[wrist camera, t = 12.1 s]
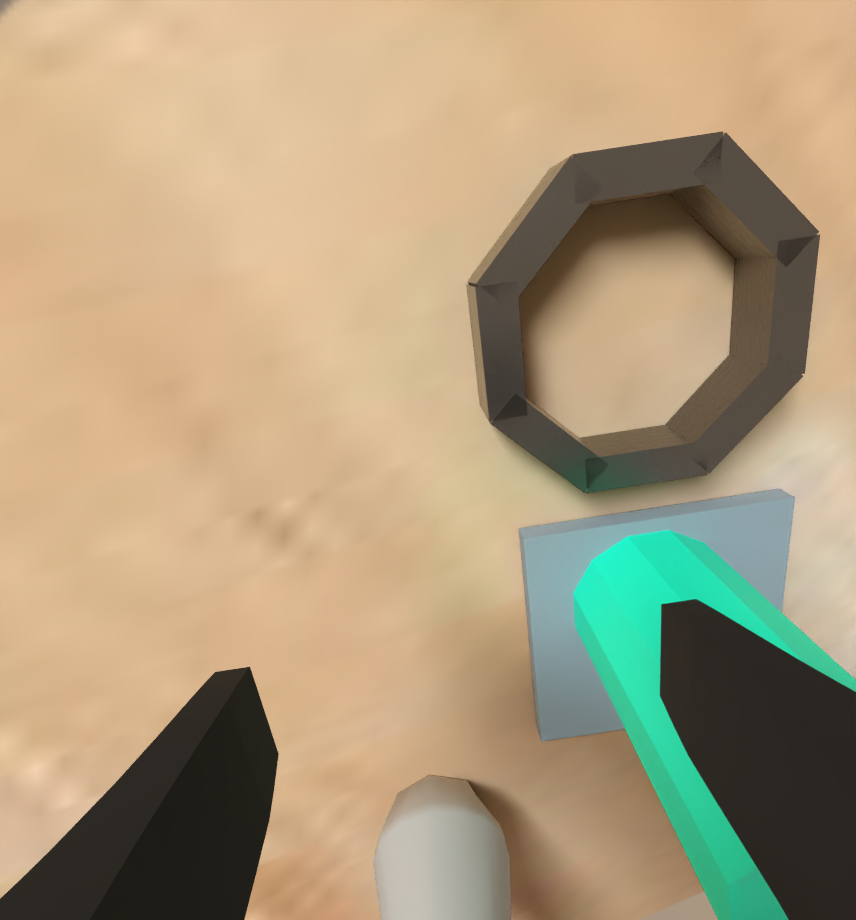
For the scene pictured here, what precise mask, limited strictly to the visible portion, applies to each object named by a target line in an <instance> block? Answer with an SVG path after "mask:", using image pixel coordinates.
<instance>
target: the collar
mask: <svg viewBox="0 0 856 920" xmlns="http://www.w3.org/2000/svg"><path fill="white" fill-rule="evenodd" d="M662 194H670V195H671V196H672V197H673V198H674V199H675V200H676V201H677V202H678V203H679V204H680V205H681V206H682V207H683V208H684V209H685V210H686V211H687V212H688V213H690V214H691V215H692V216H693V217H694V218H695V219H696V220H697V221H698V222H699V223H700V224H701V225H702V226H703V227H704V228H705V229H706V230H707V231H708V232H709V233H710V234H711V235H712V236H713V237H714V238H715V239H716V240H717V241H718V242H719V243H720V244H721V245H722V246H723V247H724V248H725V249H726V250H727V251H728V252H729V253H730V254H731V255H732V256H733V257H734V258H735V271H734V288H733V305H732V322H731V339H730V355H729V356H728V357H727V358H726V359H725V360H724V361H723V362H722V363H721V364H720V366H719V367H718V368H717V369H716V370H715V371H714V372H713V373H712V374H711V375H710V376H709V378H708V379H707V380H706V381H705V382H704V383H703V384H702V385H701V386H700V387H699V389H698V390H697V391H696V392H695V393H694V394H693V395H692V396H691V397H690V398H689V399H688V401H687V402H686V403H685V404H684V405H683V406H682V407H681V408H680V409H679V410H678V411H677V413H676V414H675V415H674V416H673V417H672V418H671V419H670V420H669V421H668V422H667V424H666V425H662V426H655V427H648V428H642V429H635V430H629V431H622V432H616V433H609V434H602V435H596V436H589V437H583V438H578V437H577V436H576V435H575V434H573V433H572V432H571V431H569V430H568V429H567V428H565V427H564V426H563V425H562V424H560V423H559V422H558V421H556V420H555V419H554V418H552V417H551V416H550V415H549V414H547V413H546V412H545V411H543V410H542V409H541V408H539V407H538V406H537V405H535V404H534V403H533V402H532V401H530V400H529V399H528V398H526V390H525V377H524V364H523V351H522V339H521V326H520V313H519V300H518V297H519V295H520V294H521V293H522V292H523V290H524V289H525V288H526V286H527V285H528V284H529V282H530V281H531V280H532V278H533V277H534V276H535V275H536V273H537V272H538V271H539V269H540V268H541V267H542V265H543V264H544V263H545V262H546V260H547V259H548V258H549V256H550V255H551V254H552V252H553V251H554V250H555V248H556V247H557V246H558V245H559V243H560V242H561V241H562V239H563V238H564V237H565V235H566V234H567V233H568V232H569V230H570V229H571V228H572V226H573V225H574V224H575V222H576V221H577V220H578V218H579V217H580V216H581V215H582V213H583V212H584V211H585V209H586V208H587V207H588V206H590V205H597V204H603V203H610V202H616V201H623V200H630V199H636V198H643V197H649V196H656V195H662ZM818 232H819V231H818V230H817V229H816V228H815V227H814V226H813V225H812V224H811V223H810V221H809V220H808V219H807V218H806V217H805V216H804V215H803V214H802V213H801V212H800V211H799V210H798V209H797V208H796V207H795V205H794V204H793V203H792V202H791V201H790V200H789V199H788V198H787V197H786V196H785V195H784V194H783V193H782V192H781V191H780V190H779V188H778V187H777V186H776V185H775V184H774V183H773V182H772V181H771V180H770V179H769V178H768V177H767V176H766V175H765V174H764V172H763V171H762V170H761V169H760V168H759V167H758V166H757V165H756V164H755V163H754V162H753V161H752V160H751V159H750V158H749V157H748V155H747V154H746V153H745V152H744V151H743V150H742V149H741V148H740V147H739V146H738V145H737V144H736V143H735V142H734V141H733V139H732V138H731V137H730V136H729V135H728V134H727V133H724V134H723V132H717V133H710V134H704V135H697V136H690V137H684V138H677V139H671V140H664V141H657V142H651V143H644V144H638V145H631V146H625V147H618V148H611V149H605V150H598V151H592V152H585V153H578V154H573V155H571V156H570V157H568V158H567V159H565V160H563V161H562V162H560V163H558V164H557V165H555V166H554V167H552V168H551V169H549V171H548V172H547V173H546V175H545V176H544V178H543V179H542V180H541V182H540V183H539V184H538V186H537V187H536V189H535V190H534V191H533V193H532V194H531V195H530V197H529V198H528V199H527V201H526V202H525V204H524V205H523V206H522V208H521V209H520V210H519V212H518V213H517V214H516V216H515V217H514V219H513V220H512V221H511V223H510V224H509V225H508V227H507V228H506V230H505V231H504V232H503V234H502V235H501V236H500V238H499V239H498V240H497V242H496V243H495V245H494V246H493V247H492V249H491V250H490V251H489V253H488V254H487V255H486V257H485V258H484V260H483V261H482V262H481V264H480V265H479V266H478V268H477V269H476V270H475V272H474V273H473V275H472V276H471V277H470V279H469V280H468V281H467V282H469V283H470V284H467V293H468V302H469V311H470V320H471V329H472V338H473V347H474V356H475V365H476V374H477V383H478V392H479V401H480V406H481V408H482V410H483V411H484V413H485V415H486V417H487V418H488V420H489V422H490V423H491V424H492V425H493V426H494V427H496V428H497V429H498V430H500V431H501V432H503V433H504V434H505V435H507V436H508V437H509V438H511V439H512V440H513V441H515V442H516V443H518V444H519V445H520V446H522V447H523V448H524V449H526V450H527V451H528V452H530V453H531V454H533V455H534V456H535V457H537V458H538V459H539V460H541V461H542V462H543V463H545V464H546V465H547V466H549V467H550V468H552V469H553V470H554V471H556V472H557V473H558V474H560V475H561V476H562V477H564V478H565V479H567V480H568V481H569V482H571V483H572V484H573V485H575V486H576V487H577V488H579V489H580V490H581V491H583V492H586V493H590V492H596V491H603V490H610V489H616V488H623V487H629V486H636V485H642V484H649V483H656V482H662V481H669V480H675V479H682V478H688V477H695V476H702V475H707V472H708V473H710V472H711V471H712V470H713V469H714V468H715V467H716V466H717V465H718V464H719V463H720V462H721V461H722V460H723V459H724V458H725V457H726V456H727V454H728V453H729V452H730V451H731V450H732V449H733V448H734V447H735V446H736V445H737V444H738V443H739V442H740V441H741V440H742V439H743V438H744V437H745V436H746V435H747V434H748V433H749V432H750V431H751V430H752V429H753V428H754V427H755V426H756V425H757V424H758V422H759V421H760V420H761V419H762V418H763V417H764V416H765V415H766V414H767V413H768V412H769V411H770V410H771V409H772V408H773V407H774V406H775V405H776V404H777V403H778V402H779V401H780V400H781V399H782V398H783V397H784V396H785V395H786V394H787V393H788V391H789V390H790V389H791V388H792V387H793V386H794V385H795V384H796V383H797V382H798V381H799V380H800V379H801V378H802V377H803V375H801V374H804V373H805V366H806V357H807V348H808V339H809V330H810V321H811V312H812V303H813V294H814V285H815V276H816V266H817V257H818V248H819V239H820V235H817V233H818Z"/></svg>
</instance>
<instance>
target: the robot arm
mask: <svg viewBox="0 0 856 920" xmlns="http://www.w3.org/2000/svg"><path fill="white" fill-rule="evenodd" d="M660 697H661V699H662V702H663V704H664V706H665V708H666V710H667V712H668V715H669V717H670V719H671V721H672V723H673V726H674V728H675V730H676V732H677V734H678V736H679V738H680V740H681V742H682V744H683V746H684V748H685V750H686V752H687V754H688V756H689V758H690V759H691V761H692V763H693V764H694V766H695V768H696V769H697V771H698V773H699V774H700V776H701V778H702V779H703V781H704V783H705V784H706V786H707V787H708V789H709V791H710V792H711V794H712V796H713V797H714V799H715V801H716V802H717V804H718V805H719V807H720V809H721V810H722V812H723V813H724V815H725V817H726V818H727V820H728V822H729V823H730V825H731V826H732V828H733V830H734V831H735V833H736V834H737V836H738V838H739V839H740V841H741V842H742V844H743V846H744V847H745V849H746V851H747V852H748V854H749V855H750V857H751V859H752V860H753V862H754V863H755V865H756V867H757V868H758V870H759V871H760V873H761V875H762V876H763V878H764V880H765V881H766V883H767V884H768V886H769V888H770V889H771V891H772V892H773V894H774V896H775V897H776V899H777V901H778V902H779V904H780V906H781V907H782V909H783V911H784V912H785V914H786V916H787V918H788V919H789V920H856V692H855V691H853V690H852V689H850V688H848V687H846V686H844V685H843V684H841V683H839V682H837V681H835V680H834V679H832V678H830V677H828V676H827V675H825V674H823V673H821V672H820V671H818V670H816V669H814V668H813V667H811V666H809V665H807V664H806V663H804V662H802V661H801V660H799V659H797V658H795V657H794V656H792V655H790V654H789V653H787V652H785V651H784V650H782V649H780V648H779V647H777V646H775V645H774V644H772V643H770V642H769V641H767V640H765V639H764V638H762V637H760V636H759V635H757V634H755V633H754V632H752V631H750V630H749V629H747V628H745V627H744V626H742V625H740V624H739V623H737V622H735V621H734V620H732V619H730V618H729V617H727V616H725V615H724V614H722V613H720V612H718V611H717V610H715V609H713V608H712V607H710V606H708V605H706V604H705V603H703V602H701V601H699V600H697V599H692V600H686V601H679V602H673V603H666V604H661V655H660ZM277 761H278V751H277V748H276V745H275V742H274V739H273V736H272V733H271V730H270V727H269V724H268V721H267V718H266V715H265V712H264V709H263V705H262V702H261V699H260V696H259V693H258V690H257V687H256V684H255V681H254V678H253V675H252V672H251V669H250V667H246V668H239V669H233V670H226V671H220V672H215V673H214V674H213V675H212V676H211V677H210V678H209V679H208V680H207V681H206V682H205V684H204V685H203V686H202V687H201V688H200V689H199V690H198V691H197V692H196V694H195V695H194V696H193V697H192V698H191V699H190V700H189V701H188V703H187V704H186V705H185V706H184V707H183V708H182V709H181V710H180V712H179V713H178V714H177V715H176V716H175V717H174V718H173V720H172V721H171V722H170V723H169V724H168V725H167V726H166V727H165V729H164V730H163V731H162V732H161V733H160V734H159V735H158V737H157V738H156V739H155V740H154V741H153V742H152V743H151V744H150V745H149V746H148V748H147V749H146V750H145V751H144V752H143V753H142V754H141V755H140V756H139V758H138V759H137V760H136V761H135V762H134V763H133V764H132V765H131V766H130V768H129V769H128V770H127V771H126V772H125V773H124V774H123V775H122V776H121V778H120V779H119V780H118V781H117V782H116V783H115V784H114V785H113V786H112V787H111V788H110V789H109V790H108V791H107V792H106V793H105V794H104V795H103V797H102V798H101V799H100V800H99V801H98V802H97V803H96V804H95V805H94V806H93V807H92V808H91V809H90V810H89V811H88V812H87V813H86V814H85V815H84V816H83V817H82V818H81V819H80V820H79V821H78V822H77V823H76V824H75V826H74V827H73V828H72V829H71V830H70V831H69V832H68V833H67V834H66V835H65V836H64V837H63V838H62V839H61V840H60V841H59V842H58V843H57V844H56V845H55V846H54V847H53V848H52V849H51V850H50V851H49V852H48V853H47V854H46V855H45V856H44V857H43V858H42V859H41V860H40V861H39V862H38V863H37V864H36V865H35V866H34V867H33V868H32V869H31V870H30V871H29V872H28V873H27V874H26V875H25V876H24V877H23V878H22V879H21V880H20V881H19V882H17V883H16V884H15V885H14V886H13V887H12V888H11V889H10V890H9V891H8V892H7V893H6V894H5V895H4V896H3V897H2V898H1V899H0V920H244V919H245V915H246V911H247V907H248V903H249V899H250V895H251V891H252V887H253V883H254V879H255V875H256V871H257V867H258V863H259V859H260V855H261V851H262V847H263V843H264V839H265V835H266V831H267V827H268V823H269V818H270V812H271V805H272V799H273V792H274V785H275V777H276V769H277Z"/></svg>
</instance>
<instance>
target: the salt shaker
mask: <svg viewBox="0 0 856 920" xmlns="http://www.w3.org/2000/svg"><path fill="white" fill-rule="evenodd" d="M373 866H374V873H375V880H376V887H377V895H378V902H379V909H380V917H381V920H511V883H510V856H509V852H508V848H507V844H506V840H505V837H504V834H503V831H502V828H501V826H500V825H499V823H498V822H497V821H496V820H495V818H494V817H493V816H492V814H491V813H490V812H489V811H488V809H487V808H486V807H485V806H484V804H483V803H482V802H481V801H480V799H479V798H478V797H477V795H476V794H475V793H474V791H473V790H472V788H471V786H470V785H469V783H468V781H467V780H462V779H454V778H447V777H440V776H433V775H428V776H426V777H425V778H423V779H421V780H420V781H418V782H416V783H415V784H413V785H411V786H410V787H408V788H406V789H405V790H403V791H401V792H400V793H398V794H397V797H396V799H395V801H394V803H393V806H392V808H391V810H390V812H389V815H388V817H387V819H386V821H385V824H384V826H383V828H382V831H381V834H380V837H379V841H378V844H377V847H376V851H375V857H374V862H373Z"/></svg>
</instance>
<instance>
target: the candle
mask: <svg viewBox="0 0 856 920" xmlns="http://www.w3.org/2000/svg"><path fill="white" fill-rule="evenodd" d="M573 599H574V616H575V627H576V629H577V632H578V634H579V636H580V638H581V640H582V642H583V644H584V646H585V648H586V650H587V652H588V654H589V656H590V658H591V660H592V662H593V664H594V666H595V668H596V670H597V672H598V674H599V677H600V679H601V681H602V683H603V685H604V687H605V689H606V691H607V693H608V695H609V697H610V699H611V701H612V703H613V705H614V707H615V709H616V711H617V713H618V715H619V717H620V719H621V722H622V724H623V726H624V728H625V730H626V732H627V734H628V736H629V738H630V740H631V742H632V744H633V746H634V748H635V750H636V752H637V754H638V756H639V758H640V760H641V762H642V764H643V767H644V769H645V771H646V773H647V775H648V777H649V779H650V781H651V783H652V785H653V787H654V789H655V791H656V793H657V795H658V797H659V799H660V801H661V803H662V805H663V807H664V809H665V812H666V814H667V816H668V818H669V820H670V822H671V824H672V826H673V828H674V830H675V832H676V834H677V836H678V838H679V840H680V842H681V844H682V846H683V848H684V850H685V852H686V854H687V857H688V859H689V861H690V863H691V865H692V867H693V869H694V871H695V873H696V875H697V877H698V879H699V881H700V883H701V885H702V887H703V889H704V891H705V893H706V895H707V897H708V899H709V901H710V904H711V905H712V908H713V910H714V912H715V914H716V916H717V918H718V920H789V919H788V918H787V916H786V914H785V912H784V911H783V909H782V907H781V906H780V904H779V902H778V901H777V899H776V897H775V896H774V894H773V892H772V891H771V889H770V888H769V886H768V884H767V883H766V881H765V880H764V878H763V876H762V875H761V873H760V871H759V870H758V868H757V867H756V865H755V863H754V862H753V860H752V859H751V857H750V855H749V854H748V852H747V851H746V849H745V847H744V846H743V844H742V842H741V841H740V839H739V838H738V836H737V834H736V833H735V831H734V830H733V828H732V826H731V825H730V823H729V822H728V820H727V818H726V817H725V815H724V813H723V812H722V810H721V809H720V807H719V805H718V804H717V802H716V801H715V799H714V797H713V796H712V794H711V792H710V791H709V789H708V787H707V786H706V784H705V783H704V781H703V779H702V778H701V776H700V774H699V773H698V771H697V769H696V768H695V766H694V764H693V763H692V761H691V759H690V758H689V756H688V754H687V752H686V750H685V748H684V746H683V744H682V742H681V740H680V738H679V736H678V734H677V732H676V730H675V728H674V726H673V723H672V721H671V719H670V717H669V715H668V712H667V710H666V708H665V706H664V704H663V702H662V699H661V697H660V655H661V604H666V603H673V602H679V601H686V600H692V599H697V600H699V601H701V602H703V603H705V604H706V605H708V606H710V607H712V608H713V609H715V610H717V611H718V612H720V613H722V614H724V615H725V616H727V617H729V618H730V619H732V620H734V621H735V622H737V623H739V624H740V625H742V626H744V627H745V628H747V629H749V630H750V631H752V632H754V633H755V634H757V635H759V636H760V637H762V638H764V639H765V640H767V641H769V642H770V643H772V644H774V645H775V646H777V647H779V648H780V649H782V650H784V651H785V652H787V653H789V654H790V655H792V656H794V657H795V658H797V659H799V660H801V661H802V662H804V663H806V664H807V665H809V666H811V667H813V668H814V669H816V670H818V671H820V672H821V673H823V674H825V675H827V676H828V677H830V678H832V679H834V680H835V681H837V682H839V683H841V684H843V685H844V686H846V687H848V688H850V689H852V690H853V691H855V692H856V680H855V679H854V678H853V677H852V676H851V675H850V674H848V673H847V672H846V671H845V670H844V669H843V668H842V667H841V666H840V665H839V664H837V663H836V662H835V661H834V660H833V659H832V658H831V657H830V656H829V655H828V654H826V653H825V652H824V651H823V650H822V649H821V648H820V647H819V646H818V645H817V644H815V643H814V642H813V641H812V640H811V639H810V638H809V637H808V636H807V635H806V634H804V633H803V632H802V631H801V630H800V629H799V628H798V627H797V626H796V625H795V624H793V623H792V622H791V621H790V620H789V619H788V618H787V617H786V616H785V615H784V614H782V613H781V612H780V611H779V610H778V609H777V608H776V607H775V606H774V605H772V604H771V603H770V602H769V601H768V600H767V599H766V598H765V597H764V596H763V595H761V594H760V593H759V592H758V591H757V590H756V589H755V588H754V587H753V586H752V585H750V584H749V583H748V582H747V581H746V580H745V579H744V578H743V577H742V576H741V575H739V574H738V573H737V572H736V571H735V570H734V569H733V568H732V567H731V566H730V565H728V564H727V563H726V562H725V561H724V560H723V559H722V558H721V557H720V556H719V555H717V554H716V553H715V552H714V551H713V550H712V549H711V548H710V547H709V546H708V545H706V544H705V543H704V542H701V541H699V540H696V539H693V538H690V537H688V536H685V535H682V534H679V533H676V532H674V531H671V530H665V531H658V532H652V533H645V534H639V535H632V536H627V537H626V538H624V539H623V540H621V541H620V542H618V543H617V544H615V545H614V546H612V547H611V548H609V549H608V550H606V551H605V552H603V553H602V554H600V555H599V556H597V557H596V558H594V559H593V560H592V561H591V563H590V564H589V566H588V568H587V570H586V572H585V573H584V575H583V577H582V579H581V580H580V582H579V584H578V586H577V588H576V589H575V591H574V593H573Z"/></svg>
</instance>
